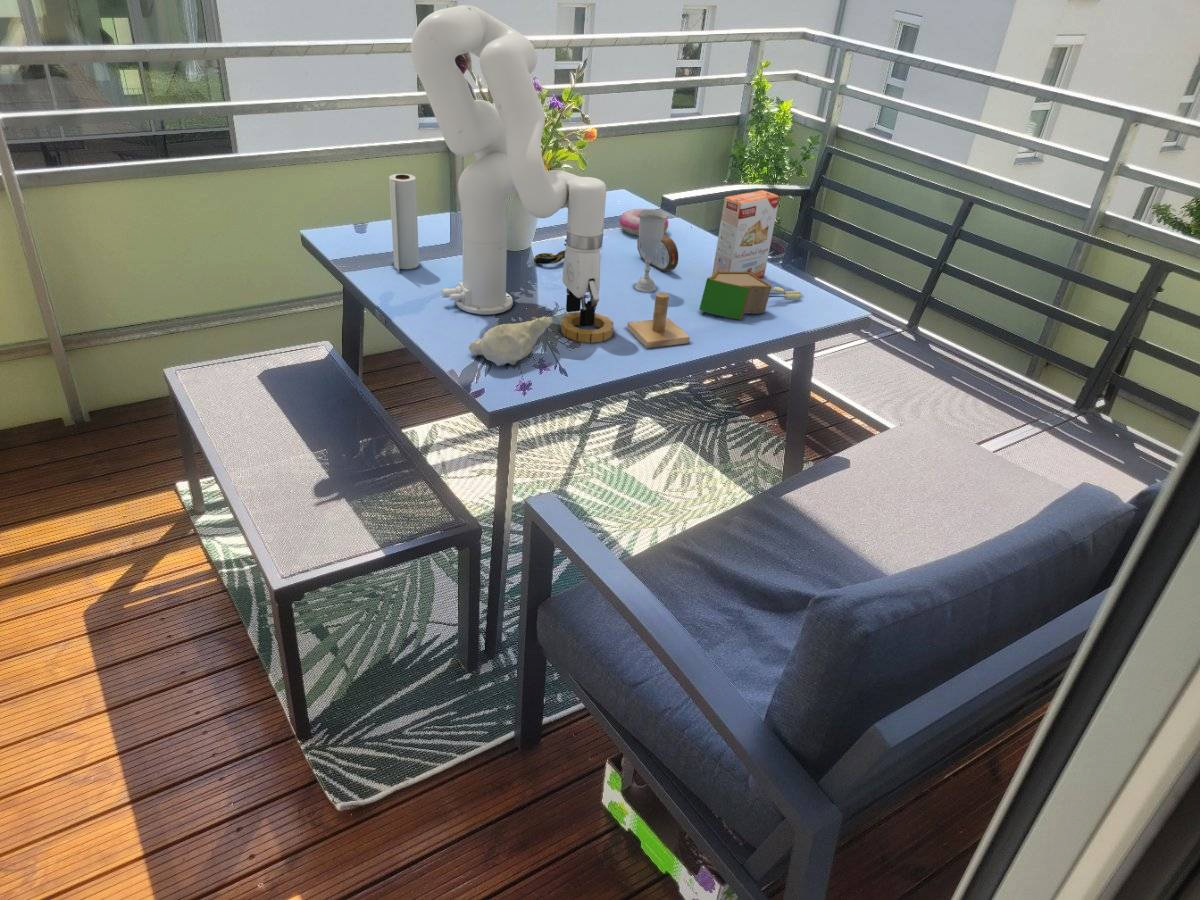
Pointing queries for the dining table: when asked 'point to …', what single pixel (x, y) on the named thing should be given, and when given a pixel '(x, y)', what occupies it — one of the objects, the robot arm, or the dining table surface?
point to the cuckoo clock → (738, 294)
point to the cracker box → (746, 233)
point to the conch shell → (510, 341)
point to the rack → (658, 327)
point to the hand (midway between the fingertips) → (579, 317)
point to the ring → (587, 335)
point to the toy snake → (549, 257)
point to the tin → (662, 254)
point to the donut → (633, 221)
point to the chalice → (650, 242)
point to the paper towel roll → (404, 221)
